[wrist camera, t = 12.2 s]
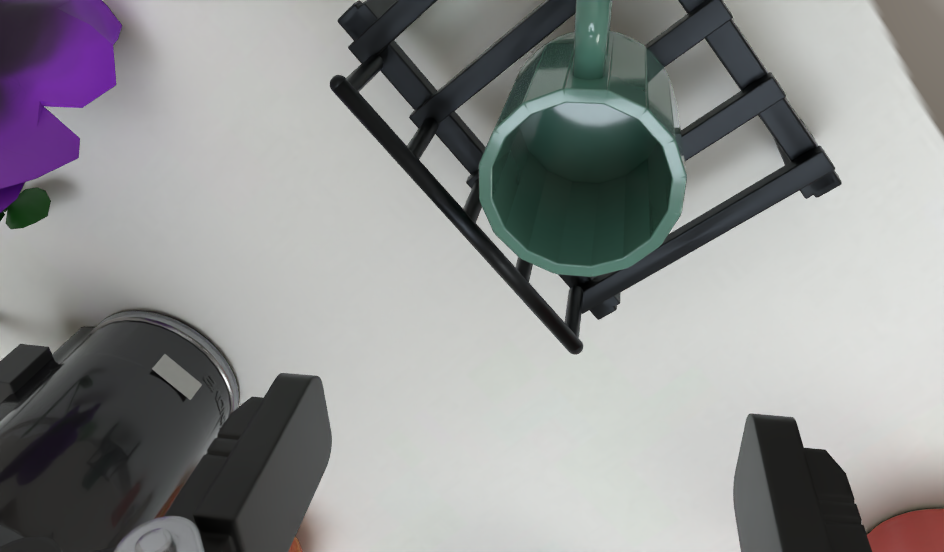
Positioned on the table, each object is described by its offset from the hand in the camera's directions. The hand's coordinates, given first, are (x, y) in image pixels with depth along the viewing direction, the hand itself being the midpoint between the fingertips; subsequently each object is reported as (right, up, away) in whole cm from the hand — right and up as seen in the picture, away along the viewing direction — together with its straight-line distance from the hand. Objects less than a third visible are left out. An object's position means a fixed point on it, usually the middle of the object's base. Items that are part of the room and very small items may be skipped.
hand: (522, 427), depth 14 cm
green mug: (+3, +10, +12) cm, 16 cm away
